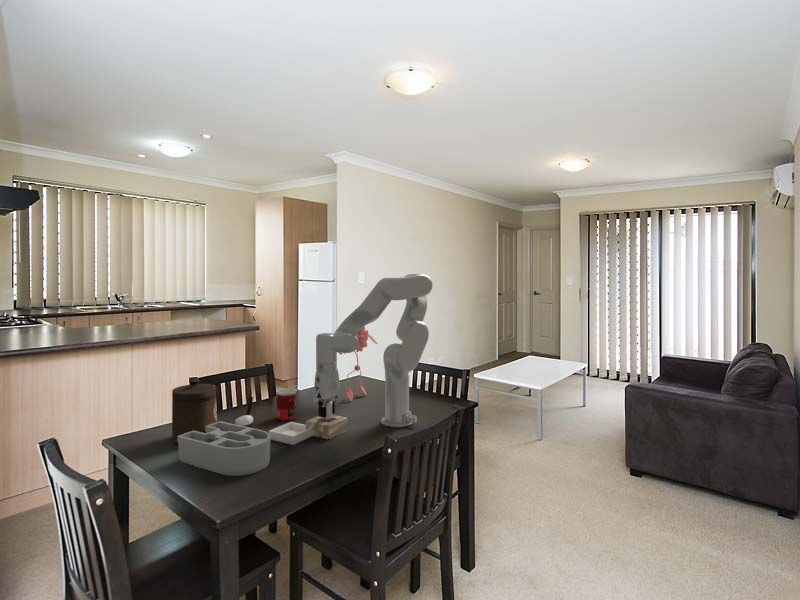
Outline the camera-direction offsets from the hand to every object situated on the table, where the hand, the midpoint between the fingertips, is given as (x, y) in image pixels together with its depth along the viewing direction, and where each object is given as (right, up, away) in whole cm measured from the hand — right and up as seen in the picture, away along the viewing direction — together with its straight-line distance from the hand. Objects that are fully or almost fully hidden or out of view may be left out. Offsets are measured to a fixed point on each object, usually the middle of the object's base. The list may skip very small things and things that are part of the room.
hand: (326, 414), depth 171 cm
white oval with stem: (-31, -7, +1) cm, 32 cm away
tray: (-12, -7, -4) cm, 15 cm away
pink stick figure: (+9, -4, +45) cm, 46 cm away
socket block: (0, -7, 0) cm, 7 cm away
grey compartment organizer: (-27, -9, -26) cm, 38 cm away
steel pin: (0, -7, 0) cm, 7 cm away
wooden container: (-47, -7, -5) cm, 48 cm away
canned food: (-19, -6, +17) cm, 26 cm away
